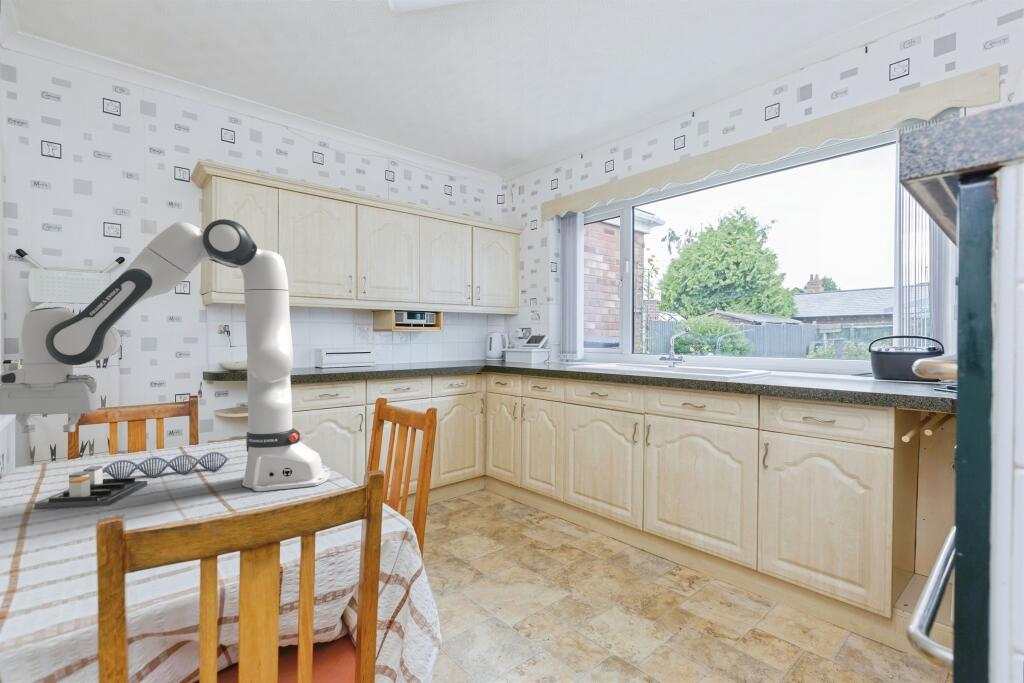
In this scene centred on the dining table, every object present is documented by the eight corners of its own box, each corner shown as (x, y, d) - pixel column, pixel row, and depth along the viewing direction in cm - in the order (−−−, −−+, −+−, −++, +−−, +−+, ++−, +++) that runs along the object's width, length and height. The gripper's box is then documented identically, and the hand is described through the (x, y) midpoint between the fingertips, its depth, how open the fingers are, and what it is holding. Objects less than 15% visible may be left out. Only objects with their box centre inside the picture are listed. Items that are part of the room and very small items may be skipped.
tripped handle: (90, 495, 120) (89, 476, 120) (81, 499, 117) (80, 480, 117) (78, 495, 120) (78, 477, 119) (69, 499, 117) (69, 480, 117)
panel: (147, 485, 132) (147, 477, 132) (109, 505, 117) (109, 496, 117) (81, 487, 130) (81, 479, 130) (34, 508, 115) (34, 499, 115)
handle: (102, 483, 129) (102, 465, 129) (94, 486, 126) (94, 469, 126) (92, 483, 129) (91, 466, 129) (84, 487, 126) (83, 469, 126)
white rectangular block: (89, 489, 124) (88, 471, 124) (80, 493, 121) (80, 474, 121) (78, 489, 124) (77, 471, 124) (69, 493, 121) (68, 475, 121)
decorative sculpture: (227, 471, 145) (227, 451, 145) (96, 486, 132) (95, 464, 132) (229, 467, 150) (229, 448, 150) (103, 480, 137) (103, 459, 137)
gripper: (105, 373, 121) (105, 428, 122) (12, 373, 118) (13, 430, 119) (86, 375, 115) (87, 434, 115) (-12, 376, 112) (-11, 436, 113)
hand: (49, 432), depth 117 cm, fingers open, 7 cm apart
